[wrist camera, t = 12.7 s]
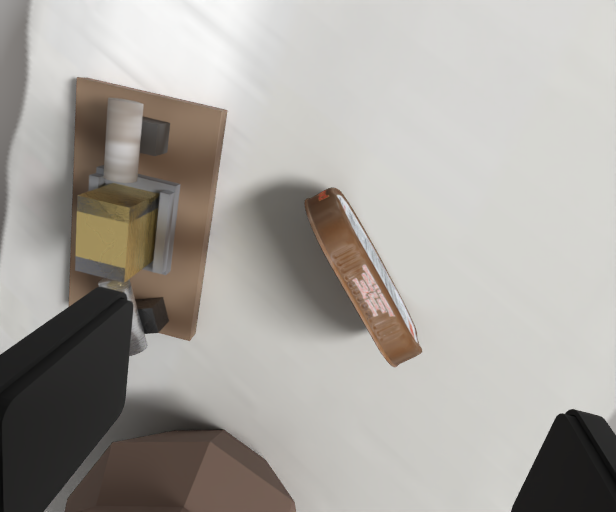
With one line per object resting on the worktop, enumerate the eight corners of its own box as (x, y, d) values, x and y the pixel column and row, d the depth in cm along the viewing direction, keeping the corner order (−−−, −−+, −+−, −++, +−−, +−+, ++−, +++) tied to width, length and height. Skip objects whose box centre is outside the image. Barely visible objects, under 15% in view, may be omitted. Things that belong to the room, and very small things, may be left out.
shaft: (113, 266, 43) (83, 287, 39) (154, 263, 42) (128, 283, 38) (131, 331, 45) (104, 357, 41) (171, 328, 44) (148, 355, 40)
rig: (87, 77, 39) (36, 75, 33) (227, 110, 38) (200, 113, 33) (78, 302, 46) (35, 332, 41) (195, 333, 46) (168, 368, 40)
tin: (308, 191, 40) (291, 215, 32) (341, 173, 39) (332, 194, 31) (390, 336, 43) (393, 390, 35) (422, 322, 42) (432, 375, 34)
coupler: (113, 182, 39) (77, 195, 35) (159, 193, 39) (129, 208, 34) (109, 250, 41) (74, 270, 37) (153, 260, 41) (124, 282, 36)
